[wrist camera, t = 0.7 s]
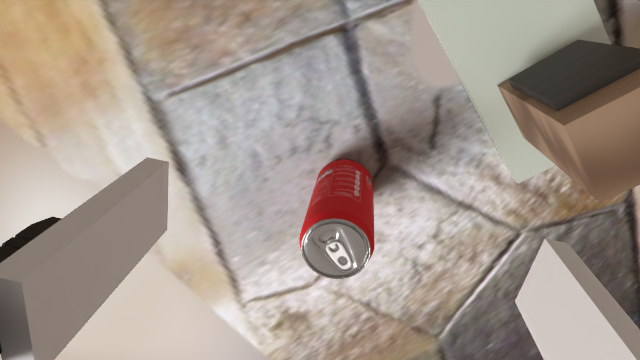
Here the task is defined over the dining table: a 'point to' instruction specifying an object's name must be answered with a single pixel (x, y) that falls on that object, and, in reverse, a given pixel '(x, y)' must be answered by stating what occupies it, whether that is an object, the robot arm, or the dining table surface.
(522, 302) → the robot arm
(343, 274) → the beverage can
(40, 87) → the dining table surface
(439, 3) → the pale green holder tray
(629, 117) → the brown tall rectangular block
